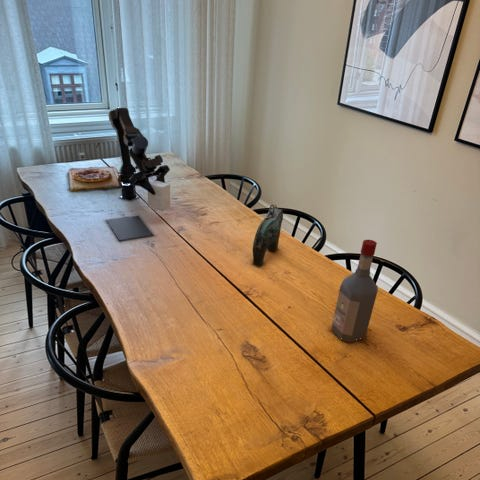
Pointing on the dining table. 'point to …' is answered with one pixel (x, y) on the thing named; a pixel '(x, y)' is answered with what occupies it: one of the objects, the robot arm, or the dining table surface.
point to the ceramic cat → (267, 235)
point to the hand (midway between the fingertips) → (160, 192)
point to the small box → (159, 196)
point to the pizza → (93, 178)
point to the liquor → (356, 299)
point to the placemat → (129, 228)
